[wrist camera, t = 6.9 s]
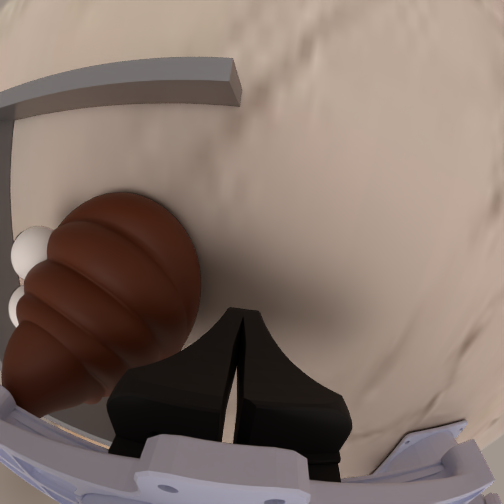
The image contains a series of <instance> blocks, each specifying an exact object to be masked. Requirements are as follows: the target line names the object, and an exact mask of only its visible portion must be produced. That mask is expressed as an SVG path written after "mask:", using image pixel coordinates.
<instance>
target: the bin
mask: <svg viewBox="0 0 504 504" xmlns="http://www.w3.org/2000/svg"><path fill="white" fill-rule="evenodd" d="M241 94H242V87H241V84H240V80H239V77H238V74H237V70H236V67H235V63H234V60H233V58H222V57H170V58H152V59H140V60H131V61H122V62H115V63H108V64H102V65H96V66H90V67H85V68H80V69H76V70H71V71H67V72H63V73H59V74H55V75H51V76H47V77H44V78H40V79H37V80H34V81H30V82H27V83H24V84H21V85H18V86H16V87H13V88H10V89H7V90H5V91H2V92H0V371H1V373H2V363H3V358H4V354H5V350H6V347H7V344H8V341H9V339H10V337H11V335H12V333H13V332H14V330H15V329H16V327H15V325H14V324H13V323H12V321H11V319H10V316H9V299H10V296H11V294H12V293H13V291H14V290H15V289H16V288H17V287H19V286H20V283H19V278H18V274H17V273H16V272H15V270H14V268H13V265H12V262H11V250H12V246H13V235H12V224H11V208H10V161H11V145H12V134H13V125H14V120H18V119H22V118H27V117H31V116H36V115H41V114H47V113H52V112H58V111H65V110H72V109H79V108H88V107H97V106H108V105H122V104H143V103H191V104H213V105H228V106H239V107H240V101H241ZM108 398H109V397H102V399H101V400H100V402H98V403H97V404H85V403H82V404H80V405H78V406H75V407H72V408H68V409H64V410H60V411H56V412H53V413H50V414H48V415H45V416H43V417H44V418H46V419H48V420H50V421H52V422H54V423H56V424H58V425H60V426H62V427H64V428H66V429H68V430H70V431H73V432H75V433H77V434H79V435H82V436H84V437H87V438H89V439H91V440H94V441H97V442H99V443H102V444H104V445H107V446H111V444H112V442H113V440H114V438H115V435H116V434H115V432H114V429H113V426H112V424H111V421H110V418H109V416H108V413H107V408H106V404H107V400H108Z"/></svg>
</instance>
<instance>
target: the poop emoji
mask: <svg viewBox="0 0 504 504" xmlns="http://www.w3.org/2000/svg"><path fill="white" fill-rule="evenodd" d="M11 262H12V265H13V268H14V270H15V272H16V273H17V274H18V275H19V276H20V277H21V278H22V279H24V280H25V281H24V285H22V286H19V287H17V288H16V289H15V290H14V291H13V293H12V294H11V296H10V299H9V316H10V319H11V321H12V323H13V324H14V325H15V327H16V329H15V330H14V332H13V333H12V335H11V337H10V339H9V341H8V344H7V347H6V350H5V354H4V358H3V363H2V386H3V387H5V388H6V389H7V390H8V391H9V392H10V393H11V395H12V396H13V398H14V400H15V402H16V405H17V406H19V407H21V408H22V409H24V410H26V411H27V412H29V413H31V414H32V415H34V416H36V417H38V418H41V417H43V416H45V415H48V414H50V413H53V412H56V411H60V410H64V409H68V408H72V407H75V406H78V405H80V404H82V403H85V404H97V403H98V402H100V400H101V399H102V397H109V396H110V395H111V393H112V391H113V389H114V388H115V386H116V384H117V383H118V381H119V380H120V379H121V377H122V376H123V375H124V374H125V372H126V371H127V370H128V369H131V368H136V367H140V366H144V365H148V364H151V363H154V362H157V361H160V360H163V359H165V358H168V357H170V356H172V355H174V354H176V353H178V352H180V350H181V349H182V347H183V345H184V343H185V342H186V340H187V338H188V336H189V334H190V332H191V330H192V327H193V325H194V322H195V319H196V316H197V312H198V308H199V302H200V294H201V275H200V267H199V262H198V258H197V254H196V251H195V249H194V246H193V244H192V242H191V240H190V238H189V236H188V234H187V232H186V231H185V229H184V228H183V227H182V225H181V224H180V223H179V222H178V220H177V219H176V218H175V217H174V216H173V215H172V214H171V213H170V212H168V211H167V210H166V209H165V208H163V207H162V206H161V205H159V204H158V203H156V202H154V201H152V200H150V199H148V198H146V197H143V196H140V195H136V194H132V193H124V192H116V193H108V194H104V195H100V196H97V197H95V198H92V199H90V200H88V201H86V202H85V203H83V204H82V205H80V206H79V207H77V208H76V209H75V210H74V211H72V212H71V213H70V214H69V215H68V216H67V217H66V218H65V219H64V220H63V221H62V223H61V224H60V225H59V226H58V228H57V229H55V230H52V229H50V228H48V227H44V226H34V227H31V228H28V229H26V230H25V231H23V232H21V233H20V234H19V235H18V236H17V237H16V239H15V240H14V243H13V246H12V250H11Z"/></svg>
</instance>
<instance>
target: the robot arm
mask: <svg viewBox="0 0 504 504" xmlns="http://www.w3.org/2000/svg"><path fill="white" fill-rule="evenodd" d="M236 368H237V414H236V423H235V432H234V440H233V444H231V443H223V442H222V436H223V429H224V421H225V414H226V408H227V403H228V399H229V396H230V392H231V388H232V384H233V380H234V376H235V372H236ZM106 408H107V413H108V416H109V418H110V421H111V424H112V426H113V429H114V432H115V434H116V435H115V438H114V440H113V442H112V444H111V446H110V448H109V449H106V448H103V447H101V446H98V445H95V444H93V443H90V442H88V441H86V440H83V439H81V438H79V437H76V436H74V435H72V434H70V433H67V432H65V431H63V430H61V429H59V428H57V427H55V426H53V425H51V424H49V423H47V422H45V421H43V420H41V419H40V418H38V417H36V416H34V415H32V414H31V413H29V412H27V411H26V410H24V409H22V408H21V407H19V406H17V405H16V402H15V400H14V398H13V396H12V395H11V393H10V392H9V391H8V390H7V389H6V388H5V387H3V386H1V385H0V462H1V463H3V464H4V465H5V466H6V467H8V468H9V469H10V470H11V471H13V472H14V473H15V474H17V475H18V476H20V477H21V478H22V479H24V480H25V481H26V482H28V483H29V484H31V485H32V486H34V487H35V488H37V489H38V490H40V491H41V492H43V493H44V494H46V495H47V496H49V497H50V498H52V499H54V500H56V501H57V502H59V503H60V504H502V502H501V500H500V498H499V496H498V494H496V493H493V494H492V493H489V494H488V495H486V496H484V495H482V494H481V492H483V491H484V490H485V489H486V488H488V487H489V486H490V485H491V484H492V483H494V481H495V479H494V477H493V475H492V473H491V471H490V469H489V467H488V465H487V463H486V461H485V459H484V457H483V455H482V453H481V451H480V449H479V448H478V446H477V444H476V442H475V440H474V439H471V440H469V441H466V442H463V443H460V444H457V442H456V440H455V438H456V437H457V436H458V435H459V434H460V433H461V431H462V430H463V429H464V428H465V426H466V425H467V423H468V422H467V421H466V420H464V421H460V422H457V423H453V424H449V425H445V426H441V427H437V428H433V429H428V430H423V431H418V432H413V433H409V434H407V435H406V436H405V437H404V438H403V439H402V441H401V442H400V443H399V444H398V446H397V447H396V448H395V449H394V450H393V452H392V453H391V454H390V455H389V456H388V457H387V459H386V460H385V461H384V462H383V463H382V464H381V465H380V466H379V468H378V469H377V470H376V471H375V472H374V473H373V474H372V475H367V476H360V477H353V478H344V479H341V478H340V472H339V467H338V463H339V462H340V460H341V458H340V453H339V450H340V449H341V447H342V446H343V444H344V443H345V441H346V440H347V438H348V436H349V435H350V432H351V430H352V420H351V417H350V413H349V410H348V408H347V406H346V404H345V401H344V399H343V397H342V396H341V395H339V394H337V393H335V392H333V391H332V390H330V389H328V388H326V387H324V386H322V385H321V384H319V383H317V382H316V381H314V380H313V379H311V378H310V377H309V376H307V375H306V374H305V373H303V372H302V371H301V370H300V369H299V368H298V367H296V366H295V365H294V364H293V363H292V362H291V361H290V360H289V359H288V358H287V357H286V356H285V354H284V353H283V352H282V351H281V349H280V348H279V347H278V345H277V344H276V342H275V341H274V339H273V338H272V336H271V334H270V333H269V331H268V329H267V327H266V325H265V323H264V321H263V319H262V316H261V313H260V312H259V311H256V310H248V309H240V308H232V307H230V308H228V309H227V311H226V312H225V313H224V315H223V316H222V317H221V318H220V320H219V321H218V322H217V323H216V324H215V325H214V326H213V327H212V328H211V329H210V330H209V331H208V332H207V333H205V334H204V335H203V336H202V337H201V338H200V339H198V340H197V341H196V342H194V343H193V344H192V345H190V346H189V347H187V348H185V349H184V350H182V351H180V352H178V353H176V354H174V355H172V356H170V357H168V358H165V359H163V360H160V361H157V362H154V363H151V364H148V365H144V366H140V367H136V368H131V369H128V370H127V371H126V372H125V374H124V375H123V376H122V377H121V379H120V380H119V381H118V383H117V384H116V386H115V388H114V389H113V391H112V393H111V395H110V396H109V398H108V400H107V404H106Z"/></svg>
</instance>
